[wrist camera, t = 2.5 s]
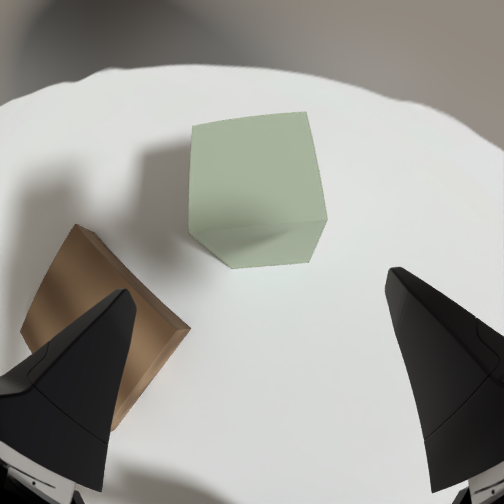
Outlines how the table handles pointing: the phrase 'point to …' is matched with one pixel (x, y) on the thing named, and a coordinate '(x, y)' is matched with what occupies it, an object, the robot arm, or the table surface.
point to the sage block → (256, 190)
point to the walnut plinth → (89, 294)
